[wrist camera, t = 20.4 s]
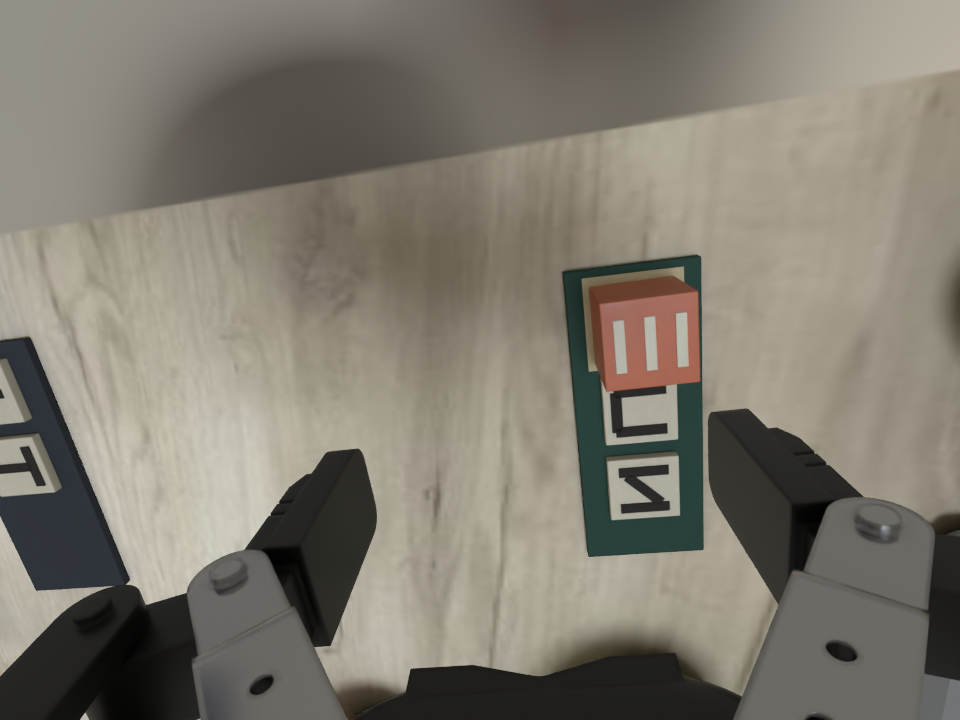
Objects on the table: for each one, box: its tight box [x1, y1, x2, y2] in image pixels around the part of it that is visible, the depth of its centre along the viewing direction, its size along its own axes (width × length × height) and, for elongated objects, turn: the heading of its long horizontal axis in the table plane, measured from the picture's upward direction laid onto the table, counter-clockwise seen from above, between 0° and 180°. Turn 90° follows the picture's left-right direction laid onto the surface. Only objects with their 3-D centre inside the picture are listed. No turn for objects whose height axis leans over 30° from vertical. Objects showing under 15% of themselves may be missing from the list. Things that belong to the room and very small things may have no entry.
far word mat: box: [0, 338, 129, 591], centre depth 35 cm, size 18×7×1 cm, turn 8°
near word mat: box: [563, 255, 704, 557], centre depth 30 cm, size 18×7×1 cm, turn 8°
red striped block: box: [589, 276, 700, 392], centre depth 26 cm, size 4×4×4 cm
